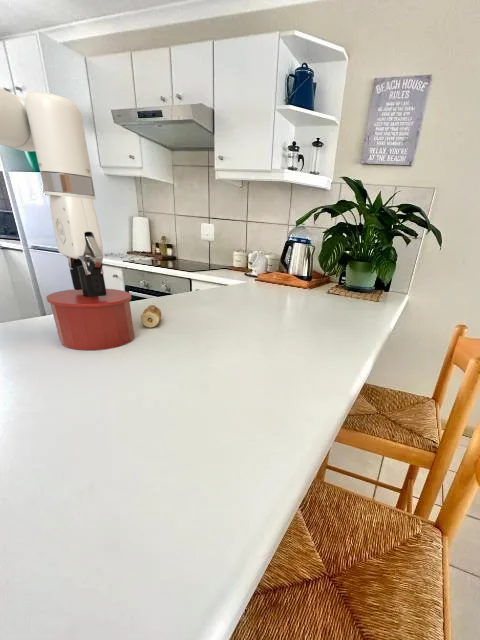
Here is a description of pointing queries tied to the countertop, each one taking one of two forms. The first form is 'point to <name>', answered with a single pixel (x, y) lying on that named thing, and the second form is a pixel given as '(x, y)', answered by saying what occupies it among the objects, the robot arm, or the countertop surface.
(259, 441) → the countertop surface
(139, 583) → the countertop surface
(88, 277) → the robot arm
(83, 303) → the lid
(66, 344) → the pot
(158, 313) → the tan cylinder with hole
